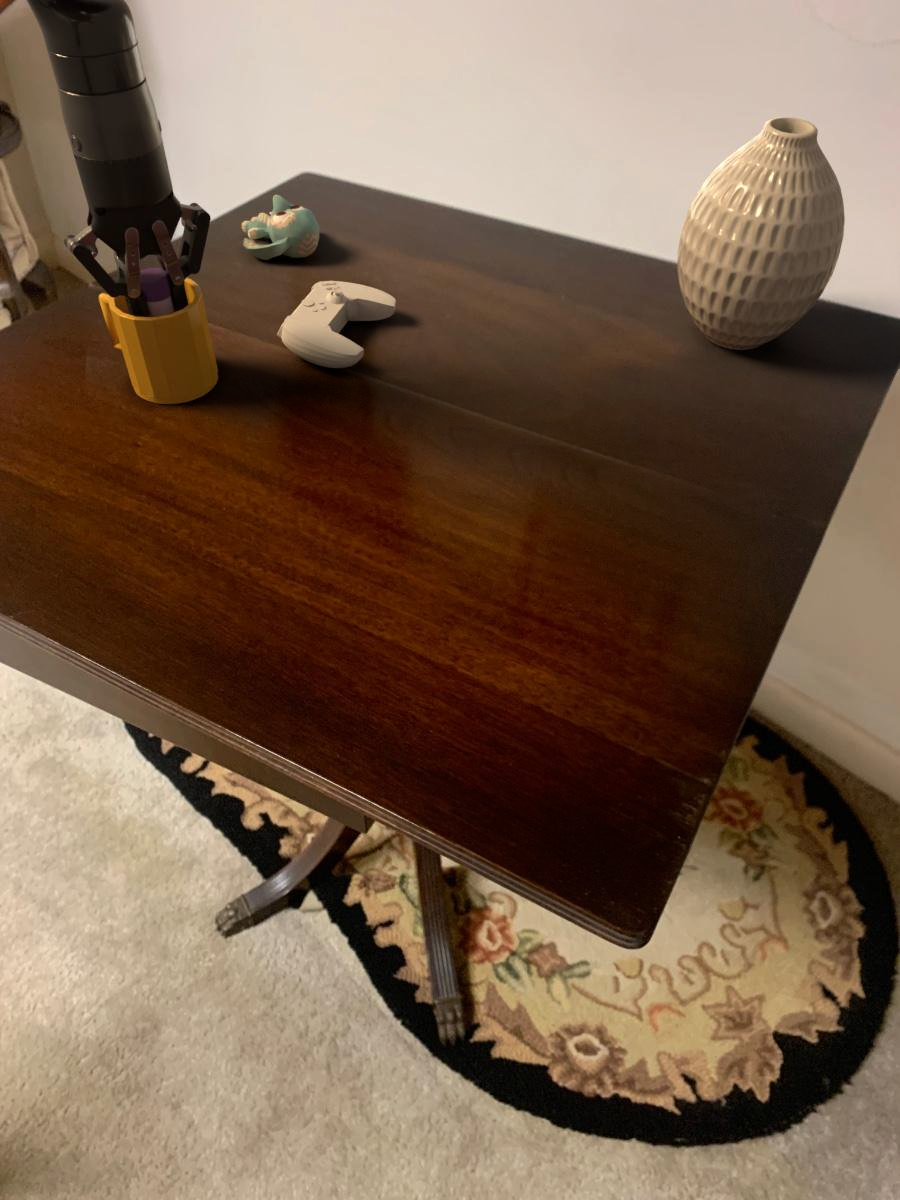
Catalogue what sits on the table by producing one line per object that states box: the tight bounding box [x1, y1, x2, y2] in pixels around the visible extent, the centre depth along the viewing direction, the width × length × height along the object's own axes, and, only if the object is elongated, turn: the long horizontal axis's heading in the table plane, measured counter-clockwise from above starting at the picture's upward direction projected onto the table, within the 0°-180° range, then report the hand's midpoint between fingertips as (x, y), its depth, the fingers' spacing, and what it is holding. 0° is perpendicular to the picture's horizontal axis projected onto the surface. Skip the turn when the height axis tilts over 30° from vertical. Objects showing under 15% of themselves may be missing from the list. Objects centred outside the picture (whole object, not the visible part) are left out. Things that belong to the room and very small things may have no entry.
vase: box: [676, 116, 846, 351], centre depth 93 cm, size 16×16×22 cm
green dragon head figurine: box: [241, 194, 321, 261], centre depth 111 cm, size 11×7×12 cm
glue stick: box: [139, 267, 175, 317], centre depth 88 cm, size 3×3×10 cm
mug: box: [98, 277, 219, 405], centre depth 90 cm, size 12×9×10 cm
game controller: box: [276, 280, 397, 369], centre depth 98 cm, size 14×4×10 cm
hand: (161, 321), depth 88 cm, fingers closed on glue stick, 3 cm apart
